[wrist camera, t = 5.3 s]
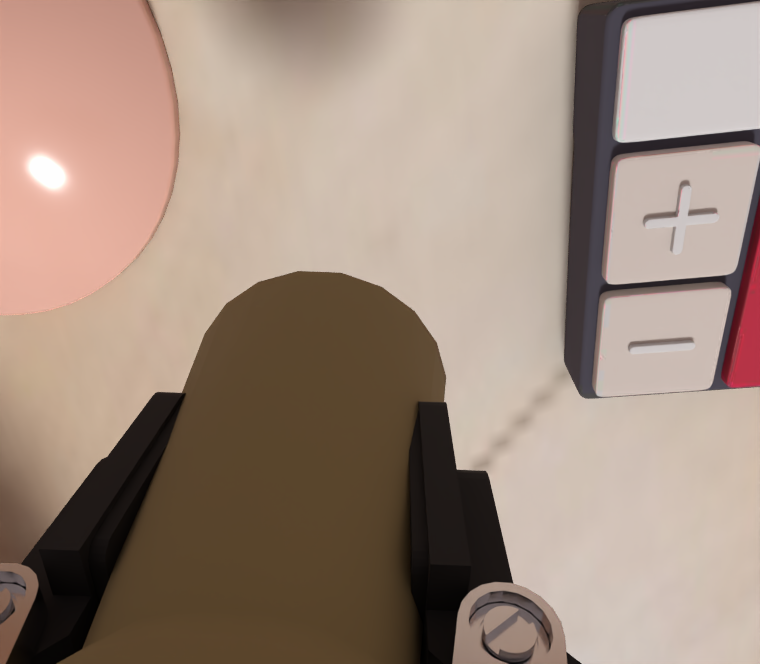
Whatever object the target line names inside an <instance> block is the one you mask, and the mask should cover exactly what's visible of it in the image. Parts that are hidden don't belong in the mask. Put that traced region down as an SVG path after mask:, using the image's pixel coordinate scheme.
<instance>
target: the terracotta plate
mask: <svg viewBox="0 0 760 664" xmlns="http://www.w3.org/2000/svg"><path fill="white" fill-rule="evenodd" d="M179 140H180V130H179V114H178V102H177V96H176V91H175V85H174V80H173V75H172V70H171V66H170V63H169V60H168V56H167V53H166V50H165V46H164V43H163V40H162V37H161V34H160V32H159V29H158V27H157V24H156V22H155V20H154V17H153V15H152V13H151V10H150V8H149V6H148V3H147V1H146V0H0V315H24V314H31V313H37V312H44V311H49V310H52V309H55V308H59V307H62V306H65V305H69V304H71V303H73V302H76V301H78V300H80V299H82V298H84V297H86V296H88V295H90V294H92V293H94V292H95V291H97V290H98V289H99V288H101V287H102V286H104V285H105V284H107V283H108V282H110V281H111V280H112V279H114V278H115V277H116V276H118V275H119V274H120V273H122V272H123V271H124V270H125V269H126V268H127V267H128V266H129V265H130V264H131V263H132V262H133V261H134V260H135V259H136V258H137V257H138V256H139V255H140V254H141V252H142V251H143V250H144V248H145V247H146V246H147V244H148V243H149V242H150V240H151V239H152V238H153V236H154V234H155V232H156V230H157V228H158V226H159V225H160V223H161V221H162V219H163V217H164V215H165V212H166V209H167V206H168V203H169V200H170V198H171V195H172V192H173V187H174V182H175V177H176V172H177V167H178V157H179Z"/></svg>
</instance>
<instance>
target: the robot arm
mask: <svg viewBox="0 0 760 664" xmlns="http://www.w3.org/2000/svg"><path fill="white" fill-rule="evenodd" d="M185 394H186V393H168V392H157V393H155V394H154V395H153V396H152V398H151V399H150V400H149V402H148V403H147V404H146V406H145V407H144V408H143V410H142V411H141V412H140V414H139V415H138V416H137V418H136V419H135V420H134V422H133V423H132V424H131V426H130V427H129V429H128V430H127V431H126V433H125V434H124V435H123V437H122V438H121V439H120V441H119V442H118V443H117V445H116V446H115V447H114V449H113V450H112V451H111V453H110V454H109V455H108V457H106V458H104V459H102V460H101V461H100V462H99V463H98V464H97V465H96V466H95V467H94V469H93V470H92V471H91V473H90V474H89V475H88V477H87V478H86V479H85V480H84V482H83V483H82V484H81V486H80V487H79V488H78V490H77V491H76V492H75V494H74V495H73V496H72V498H71V499H70V500H69V502H68V503H67V504H66V506H65V507H64V508H63V509H62V511H61V512H60V513H59V515H58V516H57V517H56V519H55V520H54V521H53V523H52V524H51V525H50V527H49V528H48V529H47V531H46V532H45V533H44V534H43V536H42V537H41V538H40V540H39V541H38V542H37V544H36V545H35V546H34V548H33V549H32V550H31V552H30V553H29V554H28V556H27V557H26V558H25V560H24V561H23V562H22V563H21V564H18V563H0V664H57V663H58V662H60V661H62V660H64V659H66V658H67V657H69V656H71V655H73V654H74V653H76V652H78V651H80V650H82V648H83V645H84V643H85V640H86V638H87V635H88V632H89V630H90V627H91V625H92V622H93V620H94V617H95V614H96V612H97V609H98V607H99V604H100V602H101V599H102V596H103V594H104V591H105V589H106V586H107V584H108V581H109V579H110V576H111V573H112V571H113V568H114V566H115V563H116V561H117V559H118V556H119V554H120V552H121V549H122V547H123V545H124V542H125V540H126V538H127V536H128V533H129V531H130V529H131V526H132V524H133V522H134V520H135V517H136V515H137V513H138V510H139V508H140V506H141V503H142V501H143V499H144V497H145V494H146V492H147V490H148V487H149V485H150V483H151V481H152V478H153V476H154V474H155V471H156V469H157V467H158V465H159V462H160V460H161V458H162V455H163V453H164V451H165V448H166V446H167V444H168V441H169V439H170V436H171V433H172V430H173V427H174V424H175V421H176V418H177V416H178V413H179V410H180V407H181V404H182V400H183V399H184V396H185ZM418 406H419V410H418V413H417V417H416V422H415V426H414V431H413V436H412V440H411V445H410V449H409V476H410V546H411V593H412V596H413V598H414V601H415V604H416V606H417V609H418V612H419V615H420V617H421V620H422V623H423V636H422V647H421V658H420V664H581V663H580V662H579V661H577V660H576V659H575V658H573V657H572V656H571V655H570V654H568V653H567V652H566V643H565V635H564V631H563V627H562V624H561V621H560V619H559V618H558V616H557V614H556V613H555V611H554V610H553V608H552V607H551V606H550V605H549V604H548V603H547V602H546V601H545V600H544V599H543V598H542V597H541V596H539V595H537V594H536V593H534V592H532V591H531V590H529V589H527V588H525V587H522V586H519V585H516V584H513V580H512V576H511V572H510V567H509V563H508V559H507V554H506V550H505V546H504V541H503V537H502V532H501V528H500V524H499V519H498V515H497V511H496V506H495V502H494V498H493V493H492V489H491V484H490V480H489V477H488V473H487V472H486V471H472V470H457V469H456V463H455V456H454V449H453V443H452V436H451V430H450V423H449V417H448V410H447V404H446V402H422V401H418Z"/></svg>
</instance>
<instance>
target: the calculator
mask: <svg viewBox="0 0 760 664" xmlns="http://www.w3.org/2000/svg"><path fill="white" fill-rule="evenodd" d="M573 133H574V162H573V181H572V199H571V218H570V237H569V255H568V279H567V303H566V328H565V354H564V362H565V365H566V367H567V369H568V371H569V373H570V375H571V378H572V380H573V382H574V384H575V386H576V388H577V390H578V392H579V394H580V395H581V396H582V397H584V398H588V399H589V398H607V397H621V396H636V395H650V394H664V393H679V392H693V391H708V390H722V389H736V388H751V387H760V0H619V1H611V2H603V3H596V4H591V5H588V6H586V7H584V8H583V9H582V11H581V12H580V14H579V16H578V22H577V41H576V67H575V93H574V119H573Z"/></svg>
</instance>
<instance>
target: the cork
mask: <svg viewBox="0 0 760 664" xmlns="http://www.w3.org/2000/svg"><path fill="white" fill-rule="evenodd" d="M445 384H446V375H445V371H444V368H443V364H442V360H441V357H440V353H439V349H438V346H437V343H436V341H435V340H434V338H433V337H432V335H431V334H430V333H429V331H428V330H427V328H426V327H425V325H424V324H423V323H422V321H421V320H420V318H419V317H418V315H417V314H416V313H415V311H413V310H412V309H411V308H409V307H408V306H407V305H405V304H404V303H403V302H401V301H400V300H399V299H397V298H396V297H394V296H393V295H392V294H390V293H389V292H388V291H386V290H385V289H384V288H382V287H380V286H377V285H375V284H372V283H369V282H366V281H363V280H360V279H357V278H354V277H352V276H349V275H346V274H343V273H331V272H306V271H297V272H294V273H290V274H286V275H283V276H279V277H275V278H272V279H268V280H264V281H261V282H258V283H256V284H255V285H253V286H252V287H250V288H249V289H247V290H246V291H244V292H243V293H242V294H240V295H239V296H237V297H236V298H234V299H233V300H231V301H230V302H228V303H227V304H226V305H225V306H224V308H223V309H222V310H221V312H220V313H219V315H218V316H217V317H216V319H215V320H214V322H213V323H212V324H211V326H210V327H209V329H208V330H207V331H206V333H205V335H204V337H203V340H202V343H201V345H200V348H199V350H198V353H197V355H196V358H195V360H194V363H193V366H192V368H191V371H190V373H189V376H188V378H187V381H186V384H185V386H184V389H183V391H182V393H186V394H185V396H184V399H183V400H182V404H181V407H180V410H179V413H178V416H177V418H176V421H175V424H174V427H173V430H172V433H171V436H170V439H169V441H168V444H167V446H166V448H165V451H164V453H163V455H162V458H161V460H160V462H159V465H158V467H157V469H156V471H155V474H154V476H153V478H152V481H151V483H150V485H149V487H148V490H147V492H146V494H145V497H144V499H143V501H142V503H141V506H140V508H139V510H138V513H137V515H136V517H135V520H134V522H133V524H132V526H131V529H130V531H129V533H128V536H127V538H126V540H125V542H124V545H123V547H122V549H121V552H120V554H119V556H118V559H117V561H116V563H115V566H114V568H113V571H112V573H111V576H110V579H109V581H108V584H107V586H106V589H105V591H104V594H103V596H102V599H101V602H100V604H99V607H98V609H97V612H96V614H95V617H94V620H93V622H92V625H91V627H90V630H89V632H88V635H87V638H86V640H85V643H84V645H83V648H82V650H80V651H78V652H76V653H74V654H73V655H71V656H69V657H67V658H66V659H64V660H62V661H60V662H58V663H57V664H420V658H421V647H422V636H423V623H422V620H421V617H420V615H419V612H418V609H417V606H416V604H415V601H414V598H413V596H412V593H411V546H410V476H409V449H410V445H411V440H412V436H413V431H414V426H415V422H416V417H417V413H418V410H419V406H418V401H422V402H444V394H445Z"/></svg>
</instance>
